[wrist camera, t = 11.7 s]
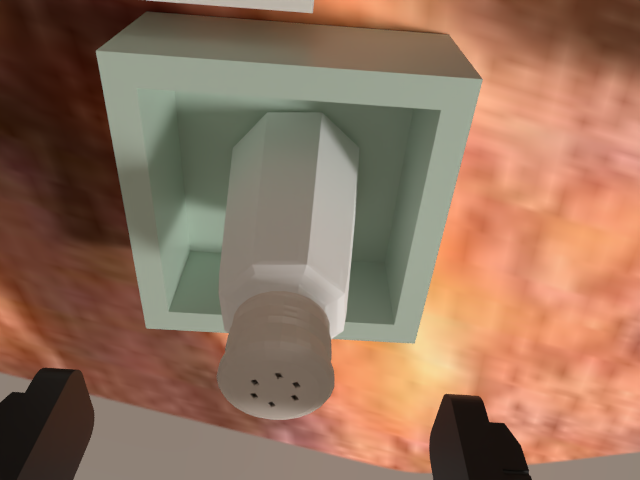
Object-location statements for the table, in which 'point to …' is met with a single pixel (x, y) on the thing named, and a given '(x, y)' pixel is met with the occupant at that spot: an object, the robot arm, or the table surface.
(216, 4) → the cradle
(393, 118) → the bin
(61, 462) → the robot arm
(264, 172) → the pepper shaker
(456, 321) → the table surface
